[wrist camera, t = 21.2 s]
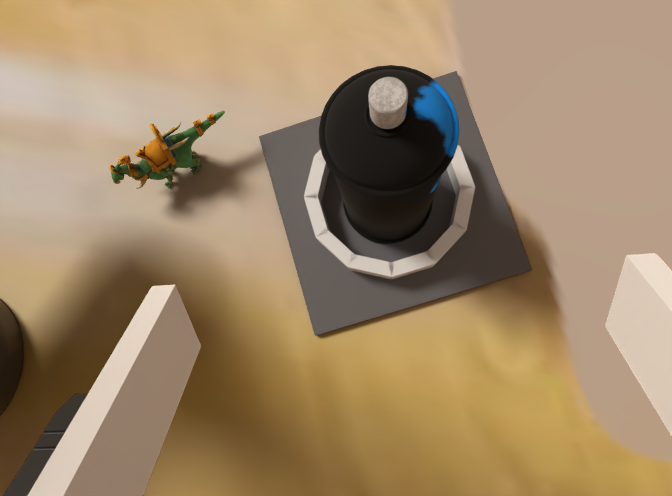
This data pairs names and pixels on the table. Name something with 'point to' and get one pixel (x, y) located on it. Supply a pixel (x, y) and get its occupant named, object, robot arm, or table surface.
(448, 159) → the aerosol can
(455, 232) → the can holder
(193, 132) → the figurine
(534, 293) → the table surface
